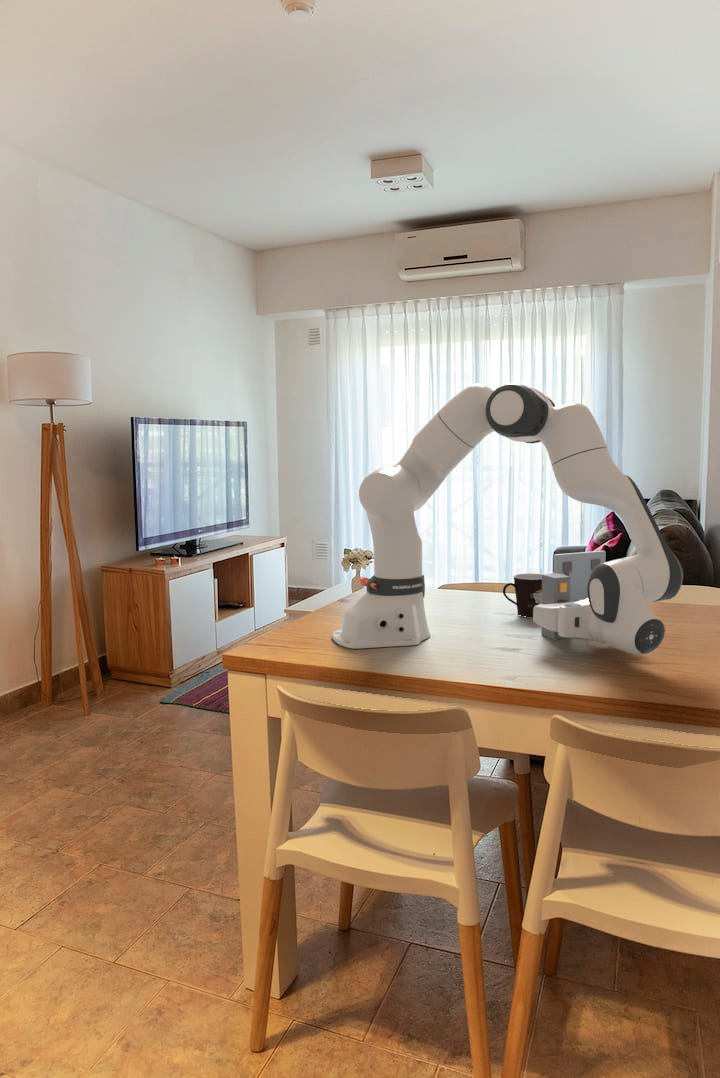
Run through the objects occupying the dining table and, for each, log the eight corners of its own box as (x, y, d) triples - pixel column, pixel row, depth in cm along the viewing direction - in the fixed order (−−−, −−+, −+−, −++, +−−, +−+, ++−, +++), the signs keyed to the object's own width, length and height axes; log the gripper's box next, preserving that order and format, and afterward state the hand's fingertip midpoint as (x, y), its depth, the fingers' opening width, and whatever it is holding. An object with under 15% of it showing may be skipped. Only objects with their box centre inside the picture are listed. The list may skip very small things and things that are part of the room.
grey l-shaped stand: (577, 633, 170) (578, 560, 168) (552, 624, 180) (553, 554, 177) (628, 627, 175) (629, 555, 173) (601, 618, 184) (602, 550, 182)
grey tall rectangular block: (555, 640, 165) (556, 578, 163) (541, 634, 170) (542, 574, 168) (570, 638, 166) (571, 577, 164) (556, 633, 171) (557, 573, 169)
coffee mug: (545, 611, 193) (545, 573, 192) (550, 619, 185) (550, 579, 183) (500, 611, 194) (500, 573, 193) (503, 618, 186) (503, 579, 185)
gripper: (639, 599, 156) (598, 587, 169) (556, 607, 149) (519, 594, 162) (639, 628, 157) (597, 614, 170) (555, 638, 150) (519, 623, 163)
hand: (558, 605), depth 166 cm, fingers open, 8 cm apart
